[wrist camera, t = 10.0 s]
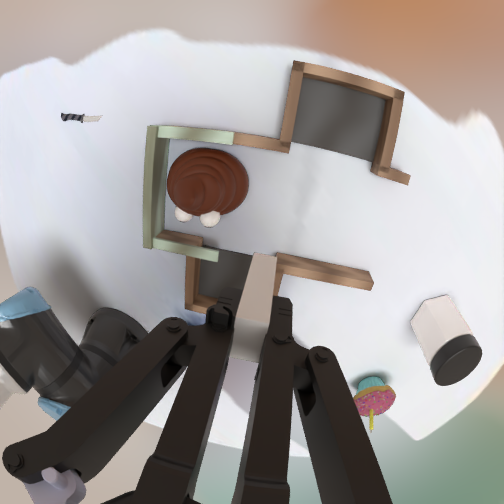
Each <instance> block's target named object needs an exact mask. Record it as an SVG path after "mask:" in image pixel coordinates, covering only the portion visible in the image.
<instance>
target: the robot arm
mask: <svg viewBox="0 0 504 504" xmlns="http://www.w3.org/2000/svg"><path fill="white" fill-rule="evenodd" d="M276 263H277V257H275V256H270V255H265V254H260V253H255V252H254V255H253V258H252V262H251V265H250V269H249V272H248V276H247V279H246V283H245V286H244V290H241V289H236V288H232V287H226V288H225V289H223V290H222V291H221V293H220V296H219V298H218V301H217V303H216V304H215V305H212V306H210V307H208V309H207V310H206V323H205V324H203V325H199V326H188V325H187V323H186V321H184V320H183V319H181V318H177V317H170V318H166V319H164V320H163V321H161V322H160V323H159V324H158V325H157V326H156V327H155V328H154V329H153V330H152V331H151V332H150V333H149V334H148V333H147V332H146V331H145V330H144V329H143V328H142V326H141V325H139V324H138V323H137V322H136V321H135V320H134V319H132V318H131V317H129V316H128V315H126V314H124V313H122V312H120V311H118V310H115V309H111V308H102V309H99V310H97V311H96V312H95V313H94V314H93V316H92V317H91V318H90V319H89V321H88V324H87V327H86V330H85V333H84V336H83V339H82V342H81V344H80V345H79V346H77V344H76V343H75V342H74V340H73V339H72V338H71V337H70V335H69V334H68V333H67V331H66V330H65V329H64V327H63V326H62V324H61V323H60V322H59V320H58V319H57V317H56V316H55V314H54V313H53V311H52V310H51V306H50V305H48V304H47V303H46V301H45V300H44V298H43V297H42V296H41V294H40V293H39V291H38V290H37V289H35V288H33V287H27V288H25V289H23V290H22V291H20V292H18V293H17V294H15V295H14V296H12V297H10V298H9V299H7V300H5V301H4V302H2V303H1V304H0V409H1V407H2V406H3V405H4V404H5V403H6V401H7V400H8V399H9V398H10V397H11V395H12V394H13V393H20V394H26V393H27V392H28V391H29V390H30V389H31V388H32V387H33V388H34V389H35V390H36V391H37V392H38V393H39V394H40V397H39V398H38V405H39V406H40V407H41V408H42V409H43V410H44V411H45V412H46V413H47V414H49V415H50V416H51V417H52V418H54V419H55V420H56V422H55V423H54V424H53V425H52V426H51V427H50V428H49V429H48V430H47V431H45V432H43V433H41V434H38V435H36V436H33V437H30V438H28V439H25V440H23V441H20V442H17V443H14V444H12V445H9V446H8V447H6V449H5V450H4V452H3V457H2V460H3V464H4V466H5V468H6V470H7V471H8V472H9V473H10V474H11V475H12V476H14V477H16V478H18V479H19V480H21V481H22V482H23V483H24V485H25V487H26V489H27V491H28V493H29V495H30V497H31V498H32V500H33V502H34V504H78V503H79V502H80V501H82V500H83V499H84V497H85V495H86V488H85V485H84V483H86V482H88V481H89V480H91V479H92V478H93V477H95V476H96V475H97V474H98V473H99V472H100V471H101V470H102V469H103V468H104V467H105V466H106V465H107V463H108V462H109V461H110V460H111V459H112V457H113V456H114V455H115V454H116V452H118V450H119V449H120V448H121V447H122V446H123V445H124V443H125V442H126V441H127V440H128V439H129V437H130V436H131V435H132V434H133V433H134V432H135V430H136V429H137V428H138V427H139V426H140V424H141V423H142V422H143V421H144V420H145V418H146V417H147V416H148V415H149V413H150V412H151V411H152V410H153V409H154V407H155V406H156V405H157V404H158V403H159V401H160V400H161V399H162V398H163V396H164V395H165V394H166V393H167V391H168V390H169V389H170V388H171V387H172V385H173V384H174V383H175V382H176V380H177V379H178V378H179V377H180V375H181V374H182V373H183V372H184V370H185V369H186V368H187V366H188V368H187V370H186V373H185V375H184V378H183V380H182V383H181V385H180V388H179V390H178V393H177V395H176V398H175V400H174V403H173V406H172V408H171V411H170V413H169V416H168V418H167V421H166V424H165V426H164V429H163V431H162V434H161V437H160V439H159V442H158V444H157V447H156V450H155V452H154V453H153V455H151V456H150V457H149V458H148V460H147V462H146V464H145V466H144V469H143V471H142V474H141V477H140V479H139V482H138V484H137V487H136V490H135V491H130V492H127V493H124V494H122V495H120V496H118V497H115V498H113V499H111V500H109V501H106V502H104V503H101V504H201V503H199V502H196V501H194V500H193V496H194V492H195V487H196V482H197V478H198V474H199V471H200V467H201V463H202V460H203V456H204V452H205V448H206V445H207V441H208V437H209V434H210V430H211V426H212V423H213V419H214V415H215V411H216V408H217V404H218V400H219V396H220V393H221V389H222V385H223V381H224V377H225V373H226V370H227V366H228V360H229V357H232V358H237V359H241V360H246V361H251V362H256V363H259V365H258V368H257V372H256V376H255V379H254V380H255V384H254V391H253V396H252V402H251V408H250V413H249V419H248V424H247V430H246V435H245V441H244V446H243V452H242V457H241V462H240V467H239V472H238V477H237V483H236V487H235V492H234V495H233V498H232V503H231V504H289V498H290V487H289V485H288V483H287V470H288V460H289V447H290V431H291V416H292V397H293V390H294V394H295V398H296V402H297V406H298V410H299V413H300V417H301V421H302V425H303V429H304V433H305V437H306V441H307V445H308V449H309V453H310V457H311V461H312V465H313V469H314V473H315V477H316V481H317V485H318V489H319V493H320V497H321V501H322V504H393V503H392V501H391V498H390V495H389V492H388V489H387V486H386V484H385V480H384V478H383V475H382V472H381V469H380V467H379V464H378V461H377V458H376V456H375V453H374V451H373V448H372V445H371V443H370V440H369V437H368V435H367V432H366V430H365V427H364V424H363V422H362V419H361V417H360V414H359V412H358V409H357V407H356V404H355V402H354V399H353V397H352V394H351V392H350V390H349V387H348V385H347V382H346V380H345V377H344V375H343V373H342V370H341V368H340V366H339V363H338V361H337V359H336V356H335V354H334V353H333V352H332V351H331V350H330V349H329V348H326V347H324V346H315V347H313V348H311V349H310V350H309V349H306V348H304V347H302V346H300V345H298V344H297V343H296V342H295V341H294V338H293V336H292V306H293V304H292V303H291V301H290V299H289V298H284V297H279V296H274V295H273V289H274V281H275V272H276Z"/></svg>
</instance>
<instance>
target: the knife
mask: <svg viewBox="0 0 504 504" xmlns="http://www.w3.org/2000/svg"><path fill="white" fill-rule="evenodd" d="M102 116H103V115H102ZM102 116H84V114H83V115H76V114H63V113H61V118H62V120H63V121H67V120H77V121H81V123H83V121H84V122H94V121H98V120H99V119H100V118H101V117H102Z"/></svg>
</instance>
